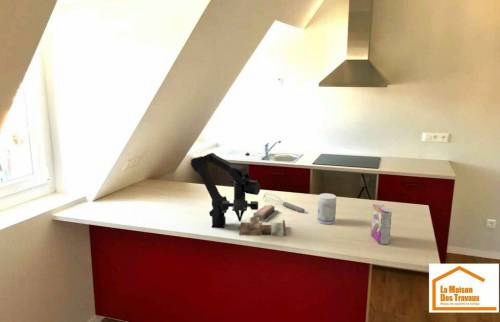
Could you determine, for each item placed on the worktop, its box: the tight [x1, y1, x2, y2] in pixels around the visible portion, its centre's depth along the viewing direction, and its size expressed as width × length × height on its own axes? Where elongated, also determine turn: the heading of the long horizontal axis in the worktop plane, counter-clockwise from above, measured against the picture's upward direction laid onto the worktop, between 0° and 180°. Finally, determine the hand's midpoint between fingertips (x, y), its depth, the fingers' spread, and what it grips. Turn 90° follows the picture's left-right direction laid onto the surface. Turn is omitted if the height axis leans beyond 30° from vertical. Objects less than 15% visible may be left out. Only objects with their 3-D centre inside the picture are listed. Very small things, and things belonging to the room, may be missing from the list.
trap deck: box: [238, 219, 287, 237], centre depth 191 cm, size 23×12×4 cm, turn 87°
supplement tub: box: [317, 192, 337, 225], centre depth 202 cm, size 10×10×15 cm
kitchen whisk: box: [263, 192, 306, 214], centre depth 226 cm, size 6×34×6 cm, turn 44°
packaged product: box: [252, 204, 279, 223], centre depth 212 cm, size 18×5×10 cm
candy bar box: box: [370, 203, 392, 246], centre depth 178 cm, size 11×5×16 cm, turn 5°
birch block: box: [249, 216, 260, 229], centre depth 190 cm, size 4×4×4 cm
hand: (239, 221), depth 191 cm, fingers closed
